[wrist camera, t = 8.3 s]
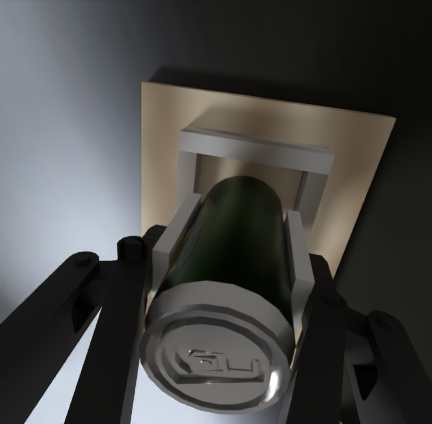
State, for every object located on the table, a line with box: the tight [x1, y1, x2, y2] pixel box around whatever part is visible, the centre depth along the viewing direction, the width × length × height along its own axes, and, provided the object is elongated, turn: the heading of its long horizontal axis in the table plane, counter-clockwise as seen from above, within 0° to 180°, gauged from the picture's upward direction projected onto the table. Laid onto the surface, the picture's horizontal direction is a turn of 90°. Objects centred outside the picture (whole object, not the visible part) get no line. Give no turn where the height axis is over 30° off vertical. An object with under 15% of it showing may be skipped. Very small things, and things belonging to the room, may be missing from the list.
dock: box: [141, 81, 396, 369], centre depth 23 cm, size 16×24×3 cm, turn 173°
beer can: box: [139, 175, 296, 414], centre depth 14 cm, size 5×5×12 cm
